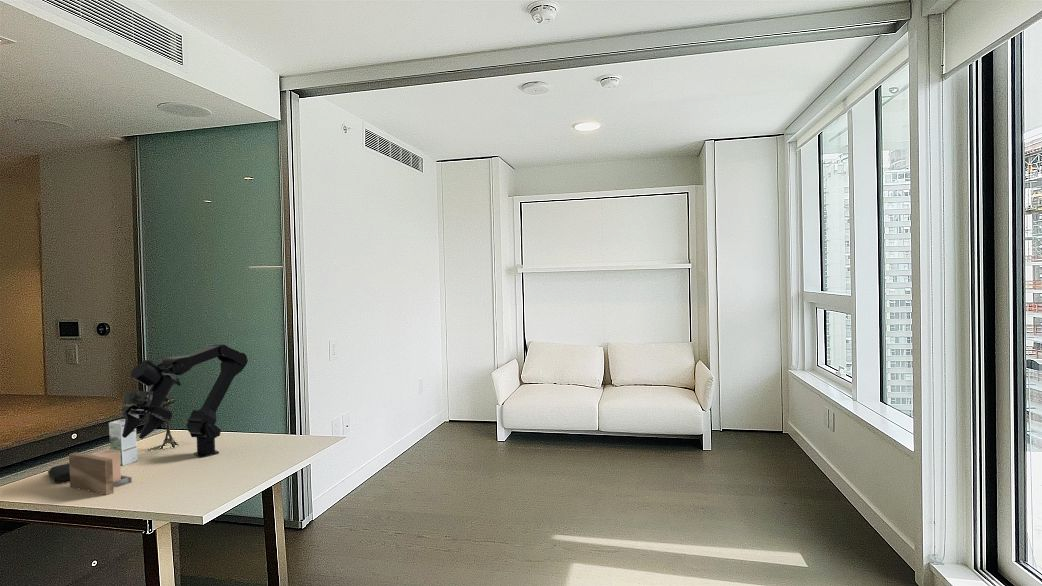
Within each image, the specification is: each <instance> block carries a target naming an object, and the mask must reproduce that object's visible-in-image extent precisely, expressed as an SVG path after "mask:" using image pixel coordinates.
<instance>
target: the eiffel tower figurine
mask: <svg viewBox="0 0 1042 586" xmlns="http://www.w3.org/2000/svg"><path fill="white" fill-rule="evenodd" d="M175 441H176V440H175V438H174V437H173V436H172V432H171V429H170V421H166V433H165V437H164V440H163V443H162V444H159V445H156V446H153V448H152V447H150V449H149V448H147V450H148V451H147V452H152V451H151V450H154V451H157V450H160V451H161V449H162V450H164V449H163V446H166V445H168V444H169V445H172V447H173V448H172V449H176V448H175V445H177V444H178V442H175ZM167 443H168V444H167ZM165 444H166V445H165ZM177 446H178V445H177ZM160 447H161V448H160ZM159 448H160V449H159Z"/></svg>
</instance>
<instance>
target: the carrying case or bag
mask: <svg viewBox="0 0 1042 586" xmlns="http://www.w3.org/2000/svg"><path fill="white" fill-rule="evenodd" d="M47 475H48V476H49V480H50V481H51V482H58V483H59V482H60V483H59V484H63V483H62V482H65V483H68V482H67V481H70V468H69V463H65V464H60V465H56V466H52V467H51V468H50V469H49V470H47Z"/></svg>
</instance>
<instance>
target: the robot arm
mask: <svg viewBox="0 0 1042 586" xmlns="http://www.w3.org/2000/svg"><path fill="white" fill-rule="evenodd" d="M213 359H217V360H218V361H220V373H219V375H218V377H217V379H216V381H215V382H214V384H213V386H212V388H211V390H210V392H209V393H208V396H207V397H206V399H205V400H204V403H203V404H202V406H201V408H199V409H198V410H196V409H193V410H192V411H191V414H190V416H189V417H188V418H187V420H186V421H187V423H186V429H187V431H188V433H189V435H190V436H191V438H196V451H195V452H193V455H194V456H196V457H198V458H204V457H207V456H213V455H216V454H219V453H220V451H218V450H216V438H217V437H220V436H221V432H222V429H221V428H219V427H218V426H217V425H216V422H217V412H218V409H219V407H220V406H221V403H222V401H223V399H224V397H225V395H226V394H227V392H228V390H229V388H230V387H231V384H232V382H233V381H234V379H235V377H237V376H238V375H239V374H240V373H241V372H243V371H244V369H245V367H246V366H247V364H248V362H249V361H248V356H247V354H246V353H244V352H240V351H238V350H237V349H236V350H235V349H234V348H232V347H229V346H227V345H226V344H223V343H214V344H213V345H211V346H208V347H205V348H202V349H199V350H196V351H194V352H191V353H188V354H186V355H177V356H169V357H166V358H163V360H161V362H159V363H158V364H155V363H153V362H152V361H151V360H149V359H144V360H143V361H142V362H141V363H139V364H137V365H136V366H135V367H133V369H132V370H131V371H130V377H131V378H132V379H133V380H135V381H137V382H139V383H141V384H142V385H144V386H146V387H149V390H148V391H146V390H138V391H137V392H136V393H131V392H127V393H126V392H125V393H124V396H123V399H122V404H125V405H124V406H122V408H121V410H120V413H121V414H122V416H123V418H124V419H125V426H124V430H123V434H122V437H124V438H126V437H127V436H128V435H129V434H130V433H131V432H132V431H133V430H134V429H135V428H136V429H137V428H138V426H140V425H141V423H142V422H143V419H144V418H145V423H144V425H143V426H142V429H141V432H140V433H139V436H138V438H139V439H141V440H143V439H144V438H146V437H147V436H148V435H149V434H151V433H152V432H153V431H154V430H156V429H158V428H159V427H160V426H162V425H163V424H167V421H169V422H170V421H171V419H172V417H173V412H172V411H171V410H169V409H167V408H165V407H164V406H163V405H164V403H168V401H169V398H168V396H169V394H170V393H171V391H172V389H173V387H181V386H182V384H181V382H180V378H179V377H172V376H183V375H184V374H186V373H187V372H189V371H190V370H192V368H193V367H195V366H197V365H199V364H202V363H205V362H207V361H210V360H213ZM170 375H171V376H170ZM150 386H151V387H150ZM126 404H127V405H126Z"/></svg>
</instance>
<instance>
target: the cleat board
mask: <svg viewBox="0 0 1042 586" xmlns="http://www.w3.org/2000/svg"><path fill="white" fill-rule="evenodd" d="M68 464H69V468H70V482H69V487H70V488H73V487H75V488H74V489H77V488H80V489H79V490H82V489H84V490H83V491H86V490H89V491H88V492H90V491H93V492H92V493H95V492H97V493H96V494H99V493H102V494H101V495H103V494H106V495H105V496H108V495H111V494H110V493H112V494H114V493H115V492H114V489H115V488H118V487H122V486H124V485H127V484H130V483H132V481H133V480H132V479H133V477H132V476H127V475H122V474H121V480H118V481H115V482H113V465H112V459H110V458H104V457H99V456H93V455H89V454H88V453H87V454H86V453H82V452H76V451H75V452H73V453H69V454H68ZM114 487H115V488H114ZM113 492H114V493H113ZM107 494H108V495H107Z"/></svg>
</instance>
